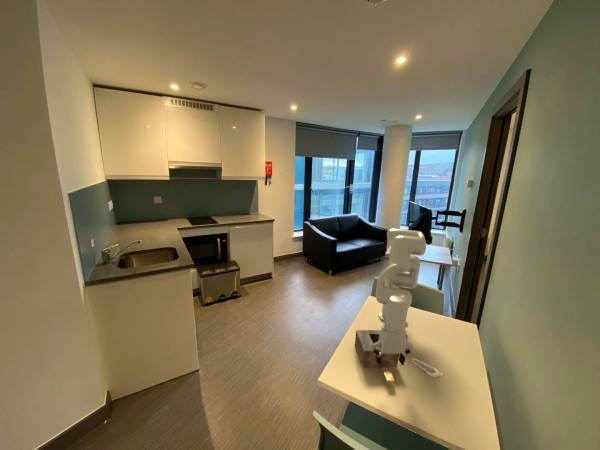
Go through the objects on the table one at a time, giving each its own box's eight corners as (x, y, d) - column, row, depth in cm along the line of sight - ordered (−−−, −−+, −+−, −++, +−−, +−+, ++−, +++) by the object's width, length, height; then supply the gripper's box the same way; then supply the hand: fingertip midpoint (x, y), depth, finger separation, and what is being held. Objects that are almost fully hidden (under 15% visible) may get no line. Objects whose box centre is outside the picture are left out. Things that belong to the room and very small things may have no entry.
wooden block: (387, 375, 105) (388, 368, 104) (393, 387, 99) (394, 380, 99) (381, 375, 105) (382, 368, 104) (386, 387, 99) (387, 380, 99)
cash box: (385, 345, 123) (387, 330, 121) (397, 367, 109) (399, 350, 107) (354, 345, 122) (356, 330, 120) (362, 367, 109) (364, 350, 107)
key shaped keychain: (408, 365, 112) (408, 362, 112) (412, 359, 115) (412, 356, 115) (439, 381, 103) (440, 378, 103) (442, 374, 107) (443, 371, 106)
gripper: (411, 320, 100) (405, 356, 104) (370, 320, 99) (366, 356, 103) (420, 332, 93) (414, 370, 96) (376, 332, 92) (372, 370, 96)
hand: (389, 362), depth 100 cm, fingers open, 9 cm apart
